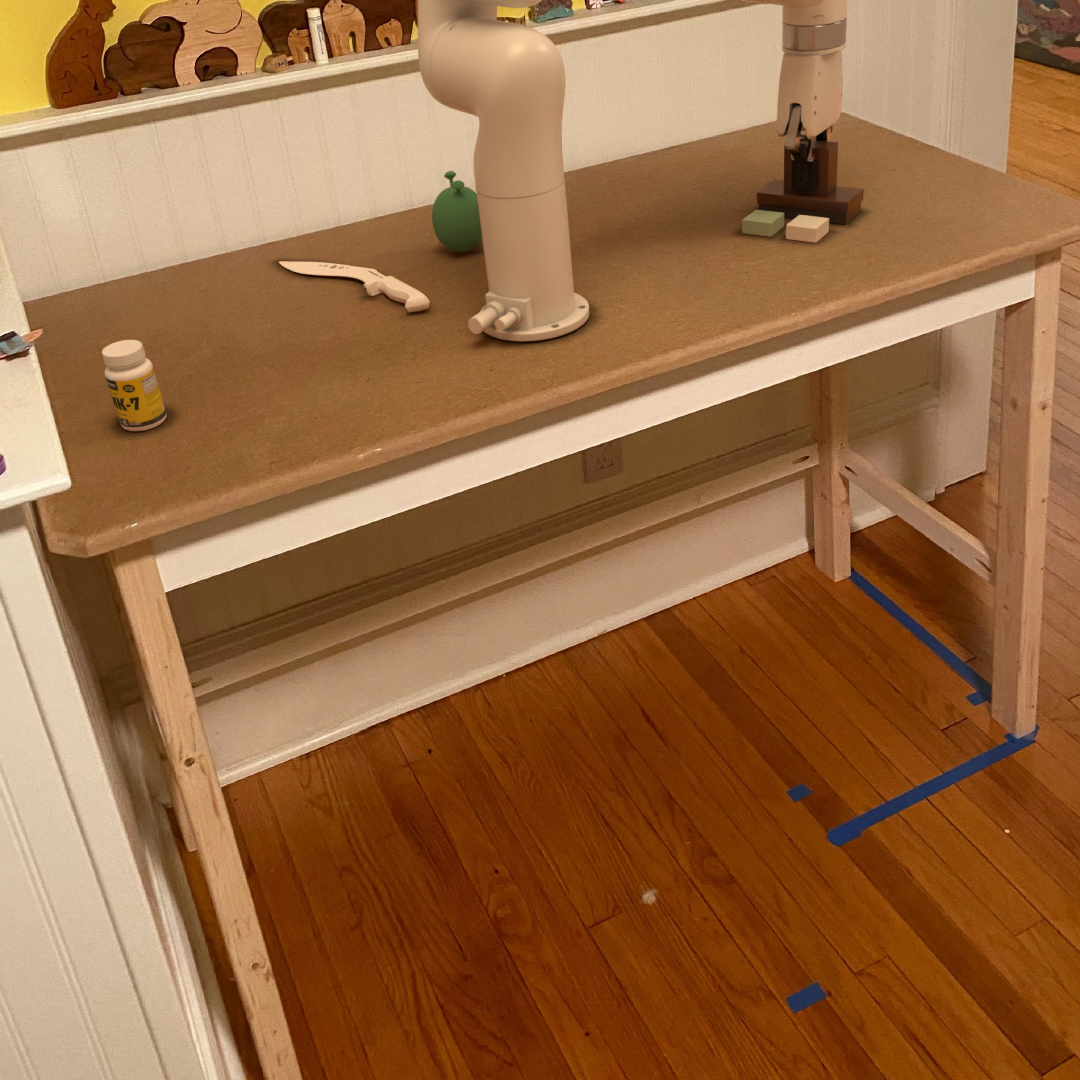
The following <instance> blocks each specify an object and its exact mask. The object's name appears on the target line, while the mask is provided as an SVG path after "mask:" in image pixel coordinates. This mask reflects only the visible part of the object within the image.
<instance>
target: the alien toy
mask: <svg viewBox="0 0 1080 1080" xmlns="http://www.w3.org/2000/svg"><path fill="white" fill-rule="evenodd" d="M456 176H457V173H456V172H455V171H453V170H449V171H446V172H445V174H444V175H443V177H444V178H445V179H447V180H448V181H449V184H450V186H449V187H445V189H443V190H441V192H439V194H438V195H437V197H436V199H435V200H434V202H433V206H432V211H431V222H432V227H433V230H434V233H435V236H436V238H437V240H438V241H439V242H440V244H441V245H442V246H443V247H444V248H446V249H447V250H449V252H453V253H455V254H456V253H457V254H466V253H469V252H472V251H474V250H475V249H476V248H477V247H478V246H480V245H481V243H482V242H483V240H482V232H481V224H480V216H479V208H478V200H477V192H475V191H474V190H473V189H471V188H470V187H468V186H465V183H464V181H462V180H454V178H455V177H456Z"/></svg>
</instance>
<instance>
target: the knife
mask: <svg viewBox="0 0 1080 1080" xmlns="http://www.w3.org/2000/svg"><path fill="white" fill-rule="evenodd" d="M278 264H280V266H282V267H283V268H285V269H287V270H289V271H291V272H295V273H299V274H303V275H310V276H311V275H312V276H321V277H322V276H324V277H327V276H328V277H344V278H350V279H351V278H352V279H356V280H359V281H362V282H364V283H363V288H365V289H366V293H367V295H368V296H369V297H374V296H376V295H381V294H385V296H387V297H388V298H389V299H390V300H392V301H395V302H399V303H402V304H404V308H405V310H406V311H407V312H408V313H413V312H421V311H423V310H428V309H429V307H430V303H431V301H430V300H429V298H428V297H427V296H426V295H425V294H424V293H423V292H421V290H418V289H417V288H415V287H413V286H411V285H409V284H407V283H405V282H403V281H402V280H400V279H397V278H396V277H394V276H393V275H387V276H386V275H385V274H382V273H380V272H378V270H377V269H375V268H369V267H362V266H355V265H348V264H343V263H333V262H324V261H323V262H322V261H286V260H285V261H278Z"/></svg>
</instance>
